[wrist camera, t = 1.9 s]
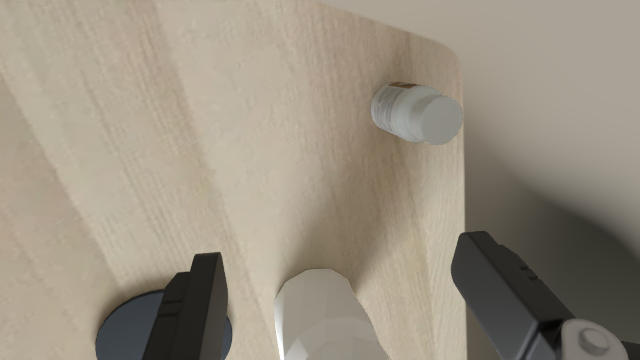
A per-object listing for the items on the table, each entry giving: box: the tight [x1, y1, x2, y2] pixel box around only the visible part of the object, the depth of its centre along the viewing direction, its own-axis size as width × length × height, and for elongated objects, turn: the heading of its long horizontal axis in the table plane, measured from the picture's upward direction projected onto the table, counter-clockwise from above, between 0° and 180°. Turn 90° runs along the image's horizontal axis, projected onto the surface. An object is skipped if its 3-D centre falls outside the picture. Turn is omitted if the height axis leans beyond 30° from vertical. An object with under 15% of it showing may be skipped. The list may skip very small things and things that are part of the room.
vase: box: [274, 268, 391, 360], centre depth 30 cm, size 9×9×12 cm
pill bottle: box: [371, 82, 463, 145], centre depth 27 cm, size 4×4×8 cm
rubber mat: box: [95, 290, 232, 360], centre depth 32 cm, size 12×12×1 cm
